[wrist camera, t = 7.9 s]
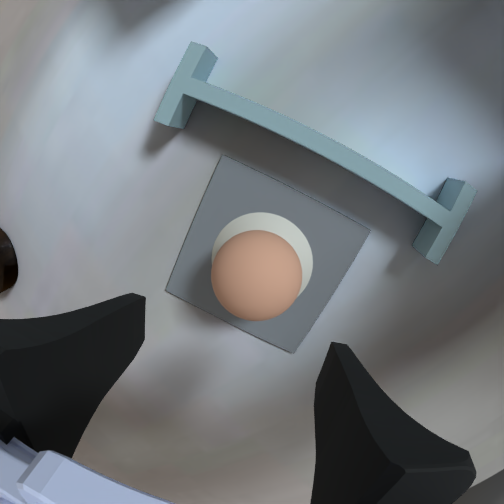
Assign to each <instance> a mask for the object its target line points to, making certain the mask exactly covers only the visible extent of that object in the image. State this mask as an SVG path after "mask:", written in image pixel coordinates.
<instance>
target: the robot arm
mask: <svg viewBox="0 0 504 504" xmlns="http://www.w3.org/2000/svg"><path fill="white" fill-rule="evenodd" d="M145 301H146V297H144V296H141V295H137V294H134V293H129V294H125V295H122V296H119V297H116V298H113V299H110V300H107V301H104V302H101V303H98V304H95V305H92V306H89V307H85V308H82V309H78V310H75V311H71V312H67V313H63V314H58V315H53V316H47V317H39V318H29V319H0V504H175V503H173V502H170V501H168V500H165V499H162V498H159V497H156V496H154V495H151V494H148V493H145V492H143V491H140V490H138V489H135V488H133V487H130V486H128V485H125V484H123V483H120V482H118V481H116V480H114V479H111V478H109V477H107V476H105V475H103V474H100V473H98V472H96V471H94V470H92V469H90V468H88V467H86V466H84V465H82V464H80V463H78V462H76V461H75V460H73V459H71V458H72V456H73V454H74V452H75V449H76V447H77V445H78V443H79V441H80V439H81V436H82V435H83V433H84V431H85V429H86V427H87V425H88V423H89V421H90V419H91V418H92V416H93V414H94V412H95V411H96V409H97V407H98V406H99V404H100V402H101V401H102V399H103V398H104V396H105V395H106V394H107V392H108V391H109V390H110V389H111V387H112V386H113V385H114V383H115V382H116V381H117V380H118V378H119V377H120V376H121V375H122V373H123V372H124V371H125V370H126V368H127V367H128V366H129V364H130V363H131V362H132V361H133V359H134V358H135V356H136V354H137V353H138V351H139V349H140V347H141V345H142V344H143V342H144V340H145ZM314 416H315V439H316V464H315V474H314V483H313V490H312V497H311V504H452V503H453V502H455V501H456V500H457V499H458V498H459V497H460V496H461V495H462V494H463V493H465V492H466V490H467V489H468V488H469V487H470V486H471V485H472V483H473V481H474V480H475V478H476V470H475V467H474V464H473V462H472V459H471V456H470V454H469V451H467V450H465V449H463V448H460V447H458V446H456V445H454V444H452V443H450V442H448V441H446V440H444V439H442V438H441V437H439V436H437V435H436V434H434V433H432V432H431V431H429V430H428V429H426V428H425V427H423V426H422V425H420V424H419V423H418V422H416V421H415V420H414V419H413V418H411V417H410V416H409V415H408V414H406V413H405V412H404V411H403V410H402V409H401V408H400V407H399V406H397V405H396V404H395V403H394V402H393V401H392V400H391V399H390V398H389V397H388V396H387V395H386V394H385V392H384V391H383V390H382V389H381V388H380V387H379V386H378V384H377V383H376V382H375V381H374V380H373V378H372V377H371V376H370V375H369V373H368V372H367V371H366V369H365V368H364V367H363V365H362V364H361V363H360V361H359V360H358V358H357V357H356V356H355V354H354V353H353V352H352V350H351V349H350V348H349V346H348V345H347V344H341V343H336V342H331V345H330V347H329V350H328V353H327V356H326V358H325V361H324V364H323V366H322V369H321V371H320V374H319V376H318V379H317V382H316V388H315V399H314Z"/></svg>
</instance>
